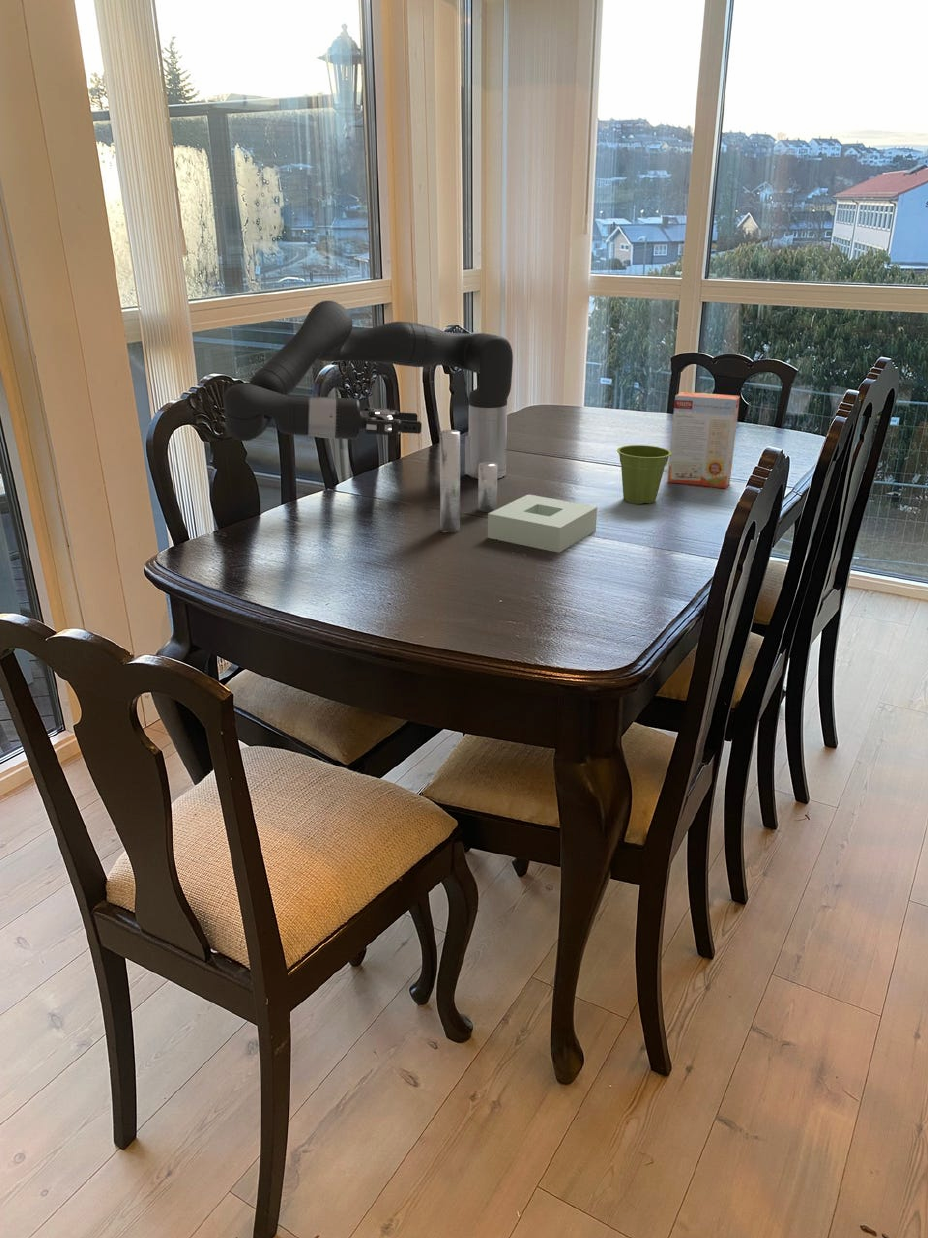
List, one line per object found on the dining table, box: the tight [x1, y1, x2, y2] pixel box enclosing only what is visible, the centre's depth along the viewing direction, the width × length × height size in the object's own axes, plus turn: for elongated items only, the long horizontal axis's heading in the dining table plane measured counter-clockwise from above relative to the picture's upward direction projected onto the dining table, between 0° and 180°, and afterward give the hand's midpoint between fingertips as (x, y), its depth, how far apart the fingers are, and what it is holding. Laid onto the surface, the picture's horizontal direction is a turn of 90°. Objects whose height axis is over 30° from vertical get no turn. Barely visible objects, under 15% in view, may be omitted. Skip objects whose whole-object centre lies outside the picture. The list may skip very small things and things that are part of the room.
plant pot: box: [616, 444, 672, 505], centre depth 201 cm, size 12×12×11 cm
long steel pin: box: [439, 429, 461, 533], centre depth 180 cm, size 4×4×20 cm
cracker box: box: [667, 391, 741, 489], centre depth 213 cm, size 14×6×21 cm, turn 65°
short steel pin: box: [477, 462, 498, 513], centre depth 195 cm, size 4×4×10 cm
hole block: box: [487, 494, 598, 554], centre depth 181 cm, size 16×16×5 cm
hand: (419, 423), depth 173 cm, fingers open, 8 cm apart
